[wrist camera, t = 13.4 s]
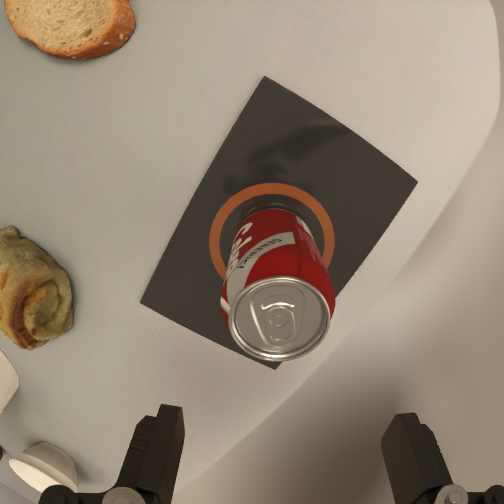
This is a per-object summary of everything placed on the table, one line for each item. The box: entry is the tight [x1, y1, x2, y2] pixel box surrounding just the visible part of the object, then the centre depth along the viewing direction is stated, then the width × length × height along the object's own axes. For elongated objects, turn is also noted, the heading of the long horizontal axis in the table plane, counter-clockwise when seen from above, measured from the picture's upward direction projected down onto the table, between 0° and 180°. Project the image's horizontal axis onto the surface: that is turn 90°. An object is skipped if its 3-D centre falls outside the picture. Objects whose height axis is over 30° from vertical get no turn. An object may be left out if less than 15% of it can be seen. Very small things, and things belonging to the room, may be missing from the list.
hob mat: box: [140, 76, 418, 370], centre depth 28 cm, size 24×16×1 cm, turn 149°
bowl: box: [9, 442, 78, 493], centre depth 43 cm, size 16×16×8 cm
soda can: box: [221, 208, 335, 362], centre depth 23 cm, size 7×7×12 cm
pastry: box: [0, 226, 73, 350], centre depth 27 cm, size 14×12×8 cm
